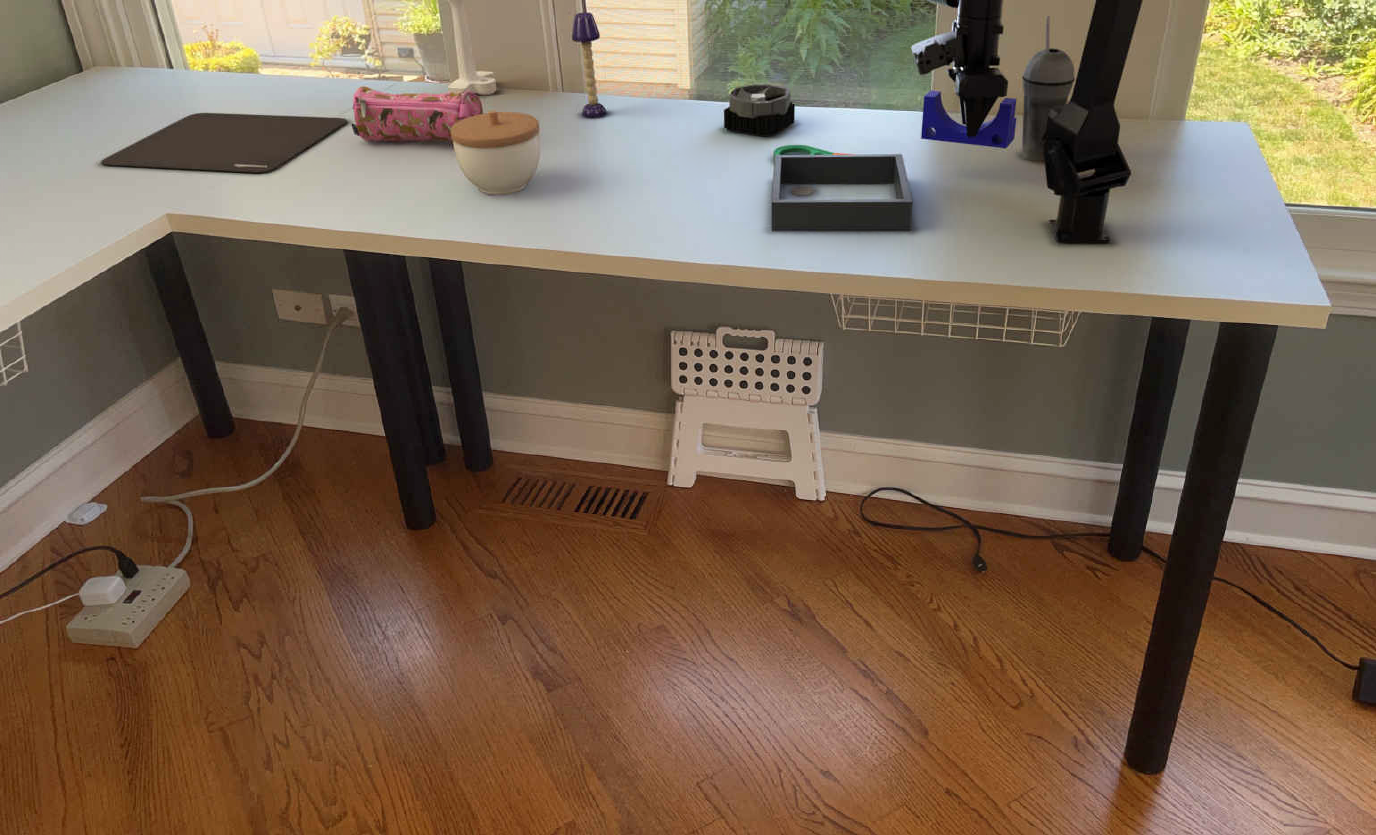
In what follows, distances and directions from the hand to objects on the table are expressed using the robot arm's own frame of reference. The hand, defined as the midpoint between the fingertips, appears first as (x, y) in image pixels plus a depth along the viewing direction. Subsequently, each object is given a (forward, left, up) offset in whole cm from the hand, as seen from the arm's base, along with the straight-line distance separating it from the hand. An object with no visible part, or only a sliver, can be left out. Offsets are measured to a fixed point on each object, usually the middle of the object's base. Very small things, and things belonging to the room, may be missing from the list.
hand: (968, 130), depth 154 cm
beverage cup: (+9, -12, -7) cm, 17 cm away
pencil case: (+18, +85, -7) cm, 87 cm away
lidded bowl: (-2, +67, -7) cm, 67 cm away
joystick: (+46, +83, -7) cm, 95 cm away
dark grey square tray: (-10, +18, -7) cm, 22 cm away
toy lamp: (+32, +59, -7) cm, 68 cm away
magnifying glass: (+7, +20, -7) cm, 22 cm away
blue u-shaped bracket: (0, 0, -2) cm, 2 cm away
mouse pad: (+19, +119, -7) cm, 121 cm away
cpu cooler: (+24, +30, -7) cm, 39 cm away
